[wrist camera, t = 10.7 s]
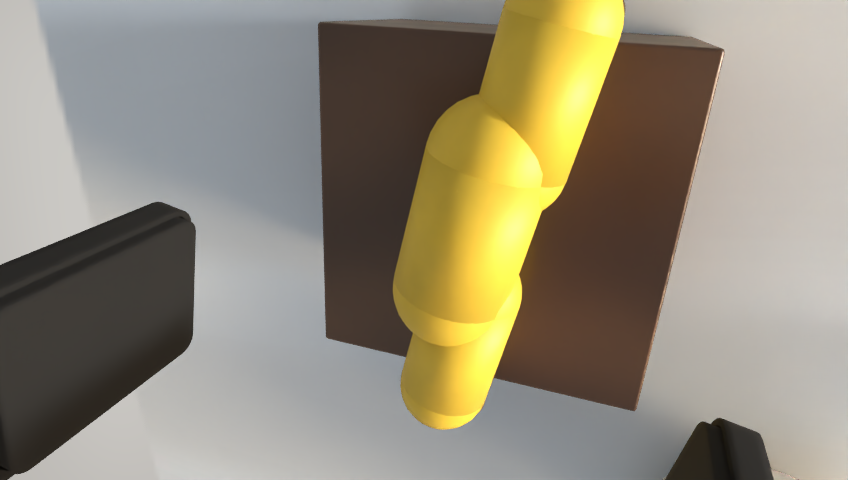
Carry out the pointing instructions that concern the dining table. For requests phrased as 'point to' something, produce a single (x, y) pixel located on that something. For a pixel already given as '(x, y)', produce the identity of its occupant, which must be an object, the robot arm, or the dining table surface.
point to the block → (558, 224)
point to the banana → (494, 197)
